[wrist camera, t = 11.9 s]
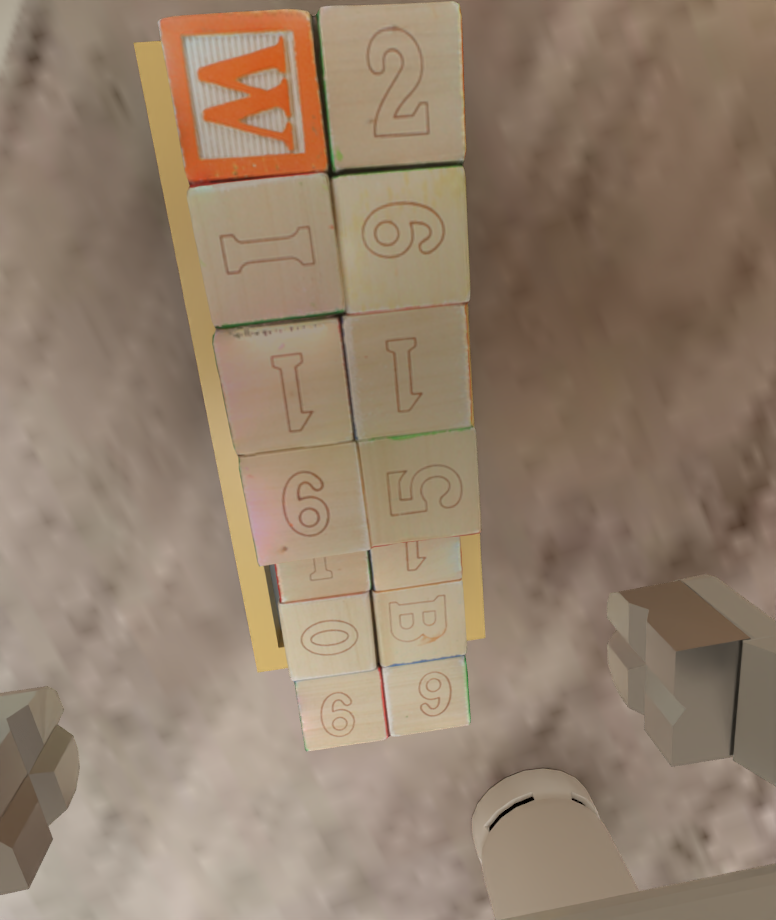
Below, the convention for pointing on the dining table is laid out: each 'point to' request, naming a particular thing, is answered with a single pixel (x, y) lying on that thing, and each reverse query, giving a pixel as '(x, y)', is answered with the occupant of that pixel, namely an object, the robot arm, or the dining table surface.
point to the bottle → (545, 846)
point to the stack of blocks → (342, 337)
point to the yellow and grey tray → (253, 578)
